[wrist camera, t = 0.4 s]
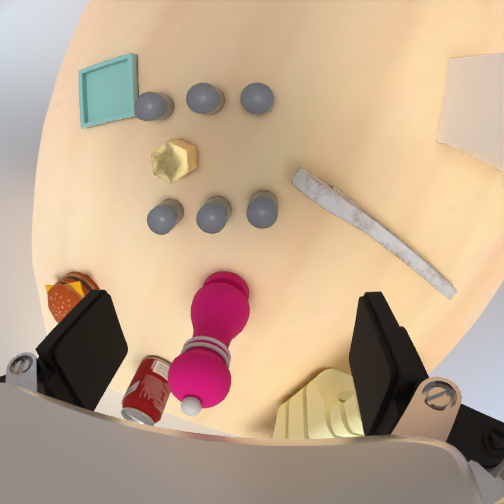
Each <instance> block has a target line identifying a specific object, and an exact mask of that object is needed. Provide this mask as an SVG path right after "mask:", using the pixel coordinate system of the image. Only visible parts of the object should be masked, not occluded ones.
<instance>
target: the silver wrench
mask: <svg viewBox="0 0 504 504" xmlns="http://www.w3.org/2000/svg"><path fill="white" fill-rule="evenodd" d="M291 183H292V184H293V185H295V186H296V187H297V188H298V189H299V190H300V191H301V192H303V193H304V194H305V195H307V196H308V197H309V198H310V199H312V200H313V201H314V202H316V203H317V204H319V205H320V206H321V207H323V208H324V209H326V210H327V211H329V212H330V213H332V214H334V215H336V216H338V217H339V218H341V219H343V220H345V221H347V222H348V223H350V224H352V225H353V226H355V227H357V228H358V229H360V230H361V231H363V232H365V233H366V234H368V235H369V236H371V237H372V238H373V239H375V240H376V241H377V242H379V243H380V244H381V245H383V246H384V247H385V248H387V249H388V250H389V251H390V252H392V253H393V254H394V255H396V256H397V257H398V258H399V259H401V260H402V261H403V262H405V263H406V264H407V265H408V266H410V267H411V268H412V269H413V270H415V271H416V272H417V273H418V274H420V275H421V276H422V277H423V278H424V279H426V280H427V281H428V282H429V283H430V284H432V285H433V286H434V287H435V288H436V289H438V290H439V291H440V292H441V293H442V294H443V295H445V296H446V297H447V298H448V299H449V300H450V299H451V298H452V297H453V296H454V295H455V294H456V292H457V291H456V289H455V288H454V287H453V286H452V285H451V284H450V283H449V282H448V281H447V280H446V279H445V278H444V277H443V276H442V275H441V274H440V273H439V272H438V271H437V270H435V269H434V268H433V267H432V266H431V265H430V264H429V263H428V262H426V261H425V260H424V259H423V258H422V257H421V256H420V255H418V254H417V253H416V252H415V251H414V250H413V249H411V248H410V247H409V246H408V245H407V244H406V243H404V242H403V241H402V240H401V239H400V238H398V237H397V236H396V235H395V234H393V233H392V232H391V231H390V230H388V229H387V228H386V227H385V226H384V225H382V224H381V223H380V222H378V221H377V220H376V219H375V218H373V217H372V216H371V215H370V214H368V213H367V212H366V211H365V210H363V209H362V208H361V207H360V206H358V205H357V204H356V203H355V202H354V201H352V200H351V199H350V198H348V197H347V196H346V195H344V194H343V193H342V192H341V191H340V190H338V189H337V188H336V187H335V186H334V187H333V188H331V187H330V186H329V185H327V184H326V183H324V182H323V181H322V180H320V179H319V178H317V177H315V176H314V175H312V174H311V173H309V172H307V171H306V170H304V169H302V168H300V169H299V170H298V172H297V173H296V174H295V176H294V177H293V179H292V180H291Z"/></svg>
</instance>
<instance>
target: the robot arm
mask: <svg viewBox="0 0 504 504" xmlns="http://www.w3.org/2000/svg"><path fill="white" fill-rule="evenodd" d="M36 351H37V353H38V355H39V358H38V359H37V358H36V356H35V355H34V354H32V353H21V354H19V355H17V356H16V357H14V358H13V359H12V360H11V361H10V362H9V364H8V366H7V371H6V375H4V376H1V377H0V504H504V423H503V422H501V421H499V420H496V419H494V418H492V417H490V416H487V415H485V414H483V413H481V412H478V411H476V410H474V409H472V408H470V407H467V406H465V405H463V404H461V399H462V396H461V392H460V390H459V388H458V387H457V386H456V385H455V384H454V383H453V382H452V381H450V380H448V379H446V378H442V377H432V378H429V376H428V374H427V372H426V370H425V368H424V366H423V363H422V361H421V359H420V357H419V355H418V353H417V351H416V349H415V347H414V345H413V343H412V341H411V339H410V337H409V335H408V333H407V331H406V329H405V328H404V327H402V326H401V327H400V326H399V324H398V322H397V320H396V318H395V317H394V315H393V313H392V311H391V309H390V307H389V305H388V303H387V301H386V299H385V297H384V296H383V294H382V292H366V293H365V294H364V296H361V297H360V298H359V301H358V308H357V314H356V320H355V326H354V332H353V337H352V343H351V348H350V353H349V364H350V368H351V372H352V377H353V382H354V386H355V391H356V396H357V401H358V406H359V411H360V416H361V421H362V426H363V432H364V435H365V436H359V437H342V438H324V439H257V438H240V437H239V438H238V437H227V436H217V435H207V434H199V433H192V432H184V431H178V430H172V429H166V428H161V427H156V426H151V425H146V424H141V423H137V422H132V421H128V420H124V419H120V418H116V417H112V416H108V415H105V414H101V413H97V412H94V410H95V408H96V406H97V405H98V403H99V401H100V399H101V397H102V396H103V394H104V392H105V391H106V389H107V387H108V385H109V384H110V382H111V380H112V378H113V377H114V375H115V373H116V372H117V370H118V368H119V367H120V365H121V363H122V362H123V360H124V358H125V357H126V355H127V352H128V346H127V343H126V340H125V338H124V335H123V332H122V329H121V326H120V323H119V320H118V318H117V314H116V311H115V308H114V305H113V302H112V299H111V296H110V295H109V294H108V293H107V292H106V291H105V290H98V289H92V290H91V291H90V292H89V293H88V294H87V295H86V296H85V297H84V298H83V299H82V300H81V301H80V302H79V303H78V304H77V305H76V306H75V307H74V308H73V309H72V310H71V311H70V312H69V313H68V314H67V315H66V316H65V317H64V318H63V319H62V320H61V321H60V322H59V324H58V325H57V326H56V327H55V328H54V329H53V330H52V331H51V332H50V333H49V334H48V335H47V337H46V338H45V339H44V340H43V341H42V342H41V343H40V344H39V345H38V347H37V348H36Z"/></svg>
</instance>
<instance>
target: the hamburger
mask: <svg viewBox="0 0 504 504" xmlns="http://www.w3.org/2000/svg"><path fill="white" fill-rule="evenodd" d="M92 289H98V290H99V288H98V287H97V285H96V284H95V283H94V282H93V281H92V280H91V279H90V278H89V277H88V276H86V275H84V274H82V273H80V272H71V273H69V274H67V275H65V276H64V278H63V279H62V280H60V281H59V282H57V283H56V284H55V285H46V290H47V294H48V307H49V309H50V311H51V313H52V315H53V316H54V318H55V320H56V321H57V322H58V323H59V322H60V321H61V320H62V319H63V318H64V317H65V316H66V315H67V314H68V313H69V312H70V311H71V310H72V309H73V308H74V307H75V306H76V305H77V304H78V303H79V302H80V301H81V300H82V299H83V298H84V297H85V296H86V295H87V294H88V293H89V292H90V291H91V290H92Z"/></svg>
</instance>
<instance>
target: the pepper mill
mask: <svg viewBox="0 0 504 504" xmlns="http://www.w3.org/2000/svg"><path fill="white" fill-rule="evenodd" d="M248 297H249V290H248V287H247V285H246V283H245V282H244V281H243V280H242V279H241V278H240V277H239V276H237V275H235V274H233V273H230V272H218V273H215V274H213V275H211V276H209V277H208V278H207V280H206V281H205V283H204V285H203V287H202V288H201V289H200V290H198V292H197V293H196V294H195V296H194V298H193V301H192V305H191V320H192V325H193V330H194V332H193V337H192V338H191V339H189V340H188V341H186V343H185V344H184V346H183V349H182V351H181V354H180V355H179V356H178V357H176V358H175V359H174V360H173V362H172V363H171V365H170V368H169V371H168V377H167V378H168V385H169V388H170V390H171V392H172V394H173V395H174V396H175V397H176V398H177V399H178V400H179V401H181V402H182V403H181V408H182V410H183V412H184V413H185V414H187V415H190V416H194V415H197V414H198V413H199V412H200V411H201V408H209V407H213V406H215V405H217V404H219V403H220V402H221V401H223V400H224V399H225V397H226V396H227V394H228V392H229V390H230V386H231V374H230V371H229V365H230V361H231V355H230V352H229V350H228V347H229V345H230V342H231V340H232V339H233V338H235V337H236V336H237V335H238V334H239V333H240V332H241V331H242V330H243V328H244V327H245V325H246V323H247V321H248V318H249V313H250V308H249V303H248Z"/></svg>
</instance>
